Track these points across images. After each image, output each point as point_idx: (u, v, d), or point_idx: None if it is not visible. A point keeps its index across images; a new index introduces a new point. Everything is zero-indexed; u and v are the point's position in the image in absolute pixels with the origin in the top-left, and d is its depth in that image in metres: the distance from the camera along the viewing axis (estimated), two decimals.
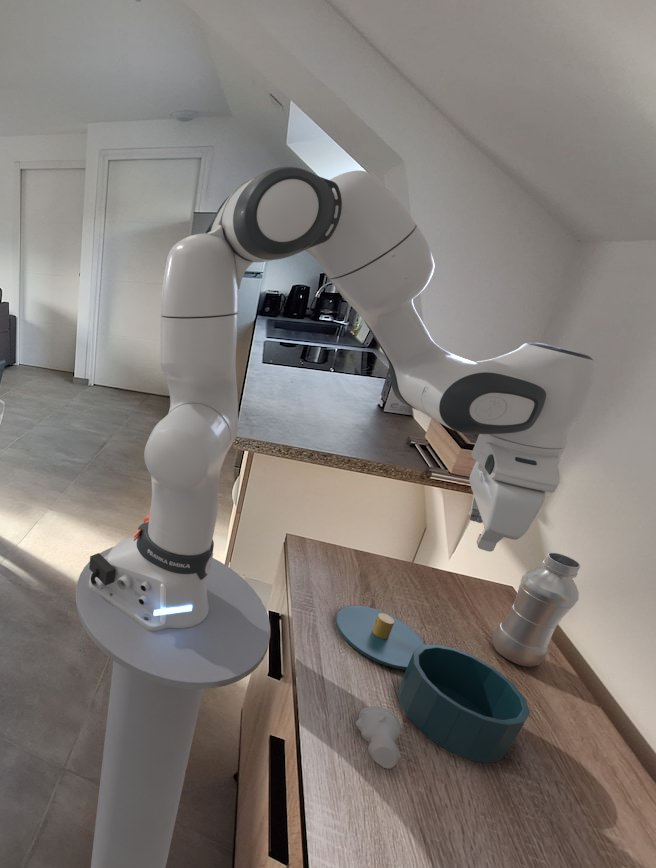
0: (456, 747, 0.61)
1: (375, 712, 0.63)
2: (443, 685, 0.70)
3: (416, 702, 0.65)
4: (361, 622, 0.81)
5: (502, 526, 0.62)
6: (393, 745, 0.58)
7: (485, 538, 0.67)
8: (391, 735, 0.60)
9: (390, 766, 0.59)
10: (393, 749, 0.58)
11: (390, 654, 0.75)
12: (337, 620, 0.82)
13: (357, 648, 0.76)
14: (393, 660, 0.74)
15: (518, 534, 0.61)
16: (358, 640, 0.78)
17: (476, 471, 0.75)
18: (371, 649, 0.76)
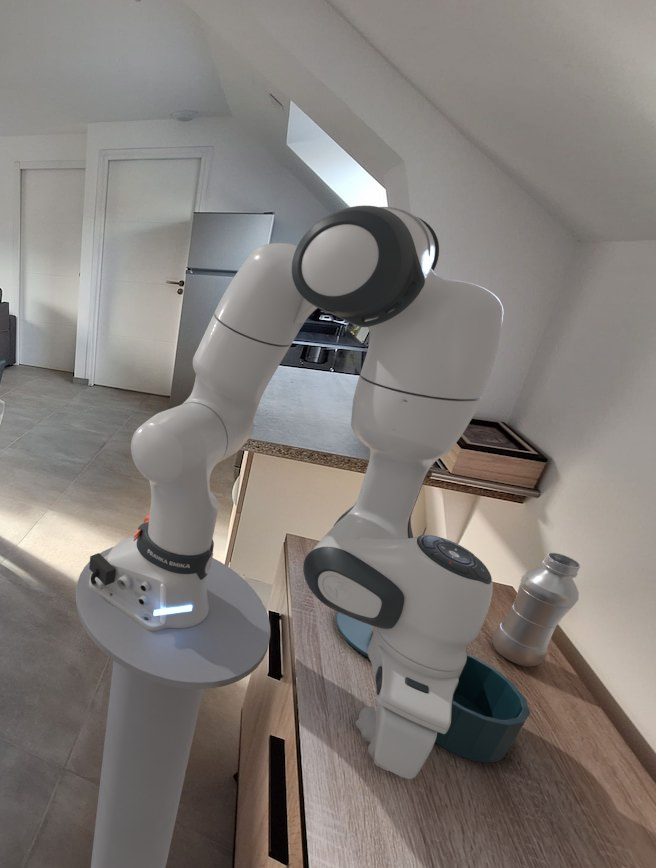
0: (456, 747, 0.61)
1: (375, 712, 0.63)
2: None
3: None
4: (361, 622, 0.81)
5: (390, 763, 0.52)
6: None
7: None
8: None
9: None
10: None
11: None
12: (337, 620, 0.82)
13: (357, 648, 0.76)
14: None
15: (408, 776, 0.51)
16: (358, 640, 0.78)
17: None
18: None
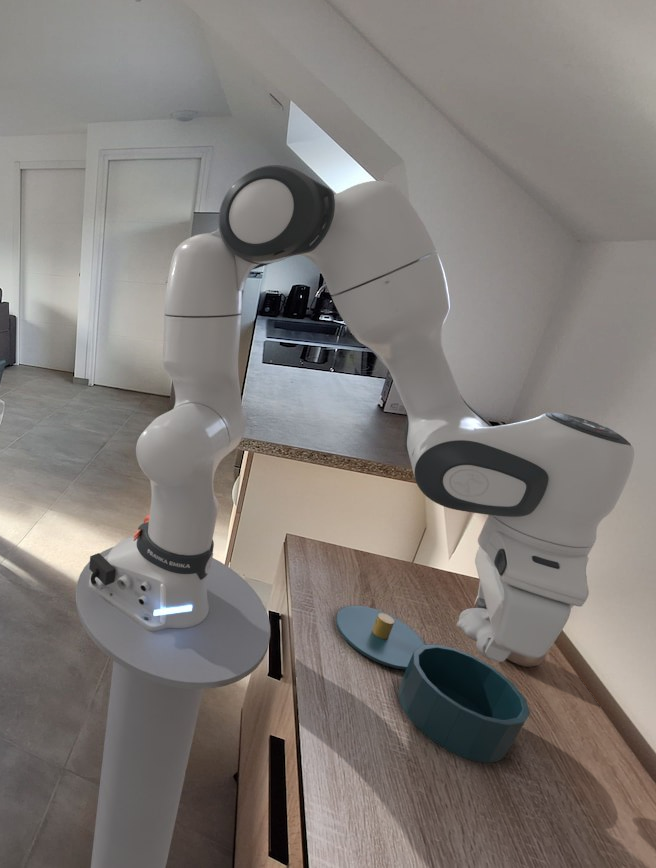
0: (456, 747, 0.61)
1: (478, 612, 0.61)
2: (443, 685, 0.70)
3: (416, 702, 0.65)
4: (361, 622, 0.81)
5: (517, 642, 0.50)
6: None
7: (495, 646, 0.55)
8: None
9: None
10: None
11: (390, 654, 0.75)
12: (337, 620, 0.82)
13: (357, 648, 0.76)
14: (393, 660, 0.74)
15: (537, 654, 0.49)
16: (358, 640, 0.78)
17: (483, 553, 0.63)
18: (371, 649, 0.76)
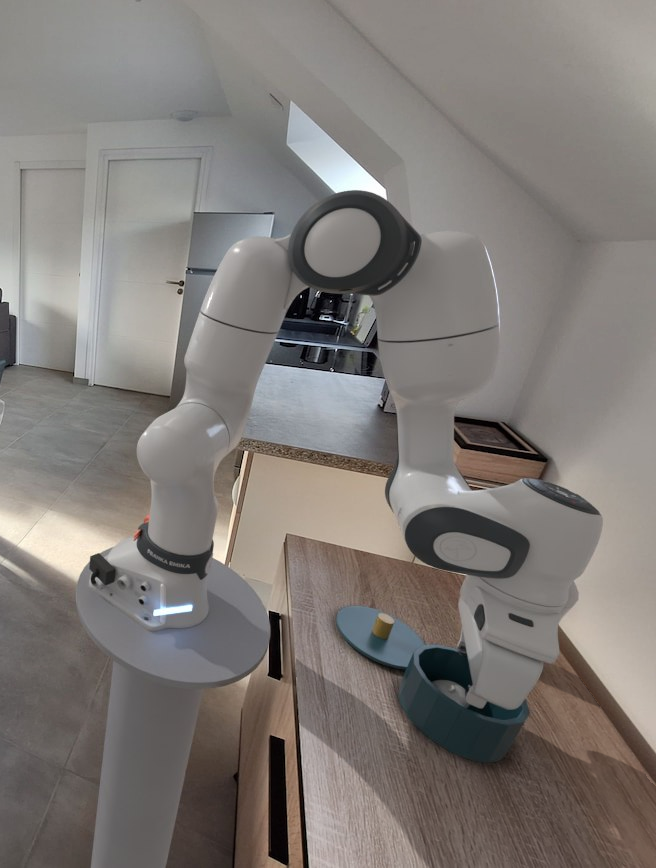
0: (456, 747, 0.61)
1: (444, 684, 0.67)
2: None
3: (416, 702, 0.65)
4: (361, 622, 0.81)
5: (493, 694, 0.54)
6: None
7: (474, 694, 0.59)
8: (461, 705, 0.64)
9: None
10: None
11: (390, 654, 0.75)
12: (337, 620, 0.82)
13: (357, 648, 0.76)
14: (393, 660, 0.74)
15: (511, 706, 0.53)
16: (358, 640, 0.78)
17: None
18: (371, 649, 0.76)
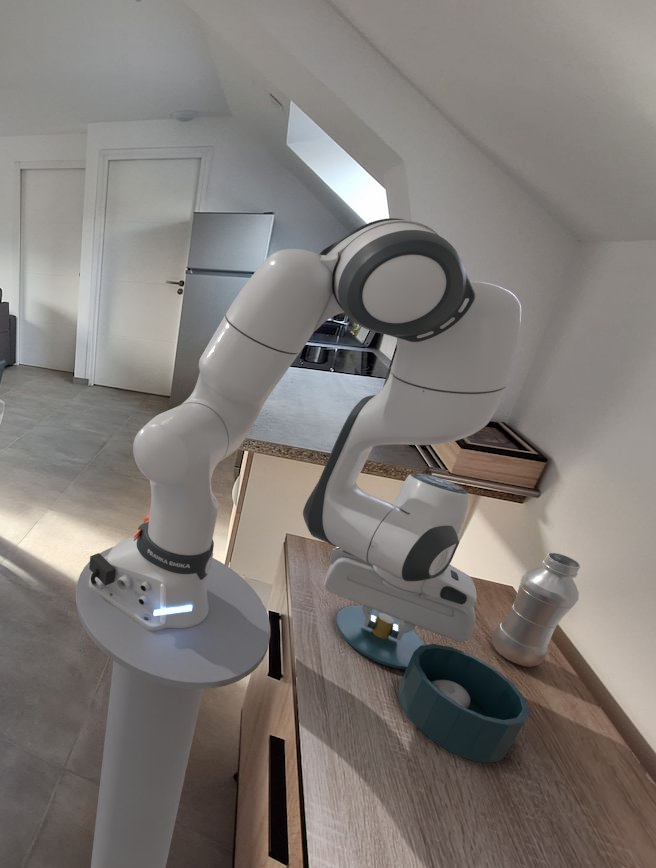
0: (456, 747, 0.61)
1: (444, 684, 0.67)
2: None
3: (416, 702, 0.65)
4: (361, 622, 0.81)
5: None
6: None
7: None
8: (461, 705, 0.64)
9: None
10: None
11: (390, 654, 0.75)
12: (337, 620, 0.82)
13: (357, 648, 0.76)
14: (393, 660, 0.74)
15: None
16: (358, 640, 0.78)
17: (348, 584, 0.78)
18: (371, 649, 0.76)
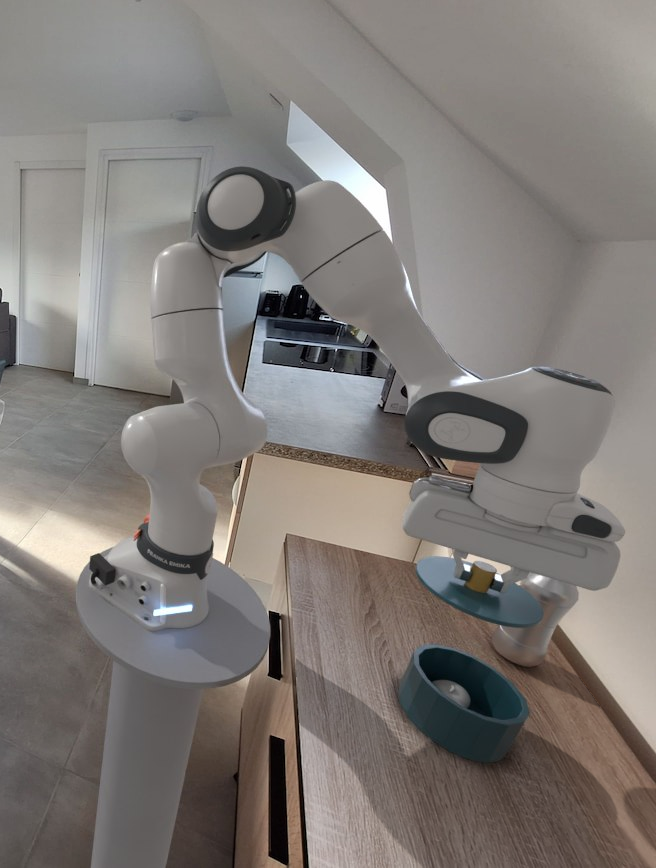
0: (456, 747, 0.61)
1: (444, 684, 0.67)
2: None
3: (416, 702, 0.65)
4: (448, 574, 0.65)
5: None
6: None
7: None
8: (461, 705, 0.64)
9: None
10: None
11: (495, 609, 0.59)
12: (418, 572, 0.65)
13: (451, 603, 0.60)
14: (501, 616, 0.57)
15: None
16: (450, 594, 0.61)
17: (436, 524, 0.62)
18: (470, 604, 0.59)
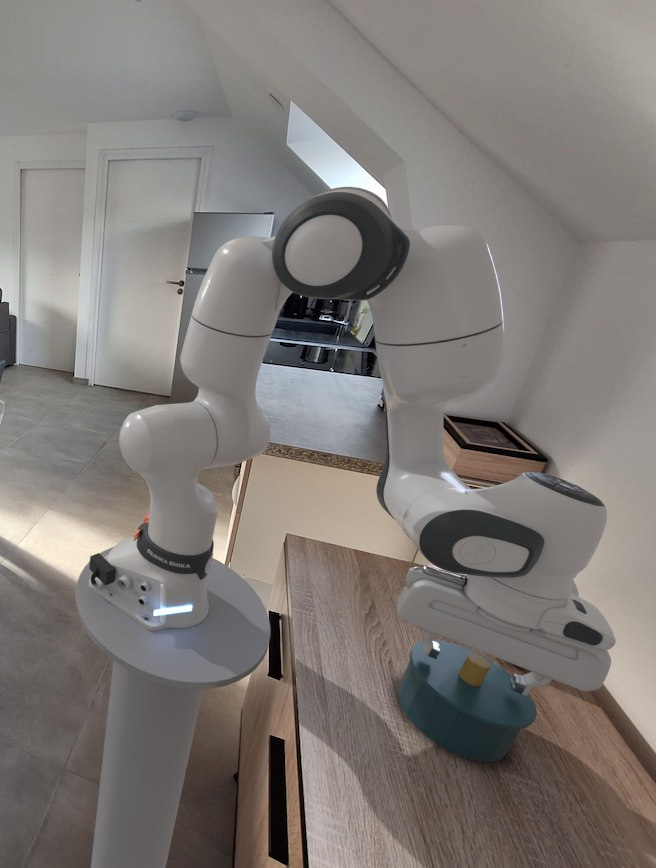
0: (456, 747, 0.61)
1: None
2: None
3: (416, 702, 0.65)
4: (443, 663, 0.65)
5: None
6: None
7: None
8: None
9: None
10: None
11: (488, 707, 0.59)
12: (413, 660, 0.66)
13: (445, 699, 0.60)
14: (494, 716, 0.58)
15: None
16: (444, 688, 0.62)
17: (430, 614, 0.62)
18: (463, 700, 0.60)
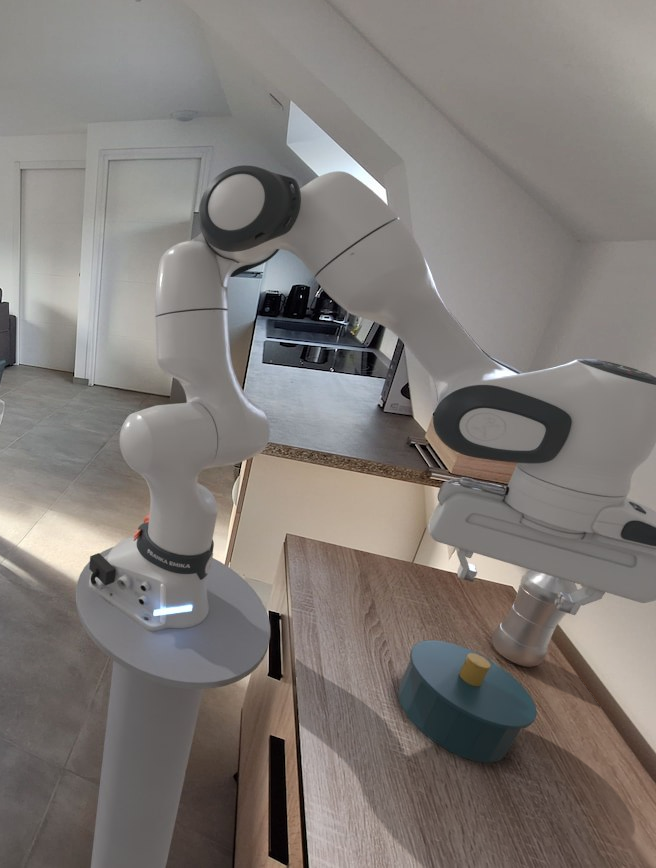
0: (456, 747, 0.61)
1: None
2: None
3: (416, 702, 0.65)
4: (443, 663, 0.65)
5: None
6: None
7: None
8: None
9: None
10: None
11: (488, 707, 0.59)
12: (413, 660, 0.66)
13: (445, 699, 0.60)
14: (494, 716, 0.58)
15: None
16: (444, 688, 0.62)
17: (467, 529, 0.57)
18: (463, 700, 0.60)
